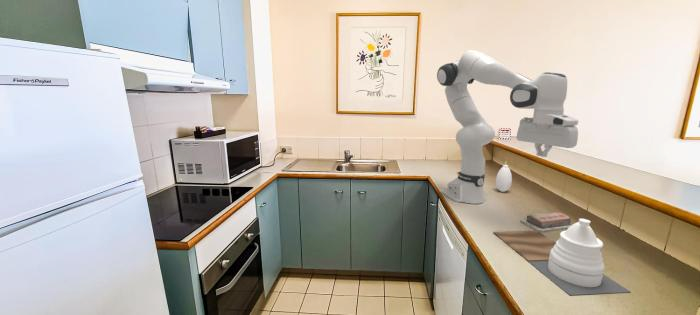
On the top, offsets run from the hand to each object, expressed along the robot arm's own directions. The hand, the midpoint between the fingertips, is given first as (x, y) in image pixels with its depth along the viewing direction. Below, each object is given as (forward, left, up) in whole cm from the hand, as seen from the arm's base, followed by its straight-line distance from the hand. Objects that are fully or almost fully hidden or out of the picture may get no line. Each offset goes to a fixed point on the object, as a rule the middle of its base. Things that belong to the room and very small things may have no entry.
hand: (541, 156), depth 105 cm
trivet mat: (+24, -13, -31) cm, 42 cm away
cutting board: (+7, -8, -31) cm, 33 cm away
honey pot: (+23, -13, -31) cm, 41 cm away
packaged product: (-3, +14, -32) cm, 35 cm away
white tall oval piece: (-41, +33, -31) cm, 61 cm away
